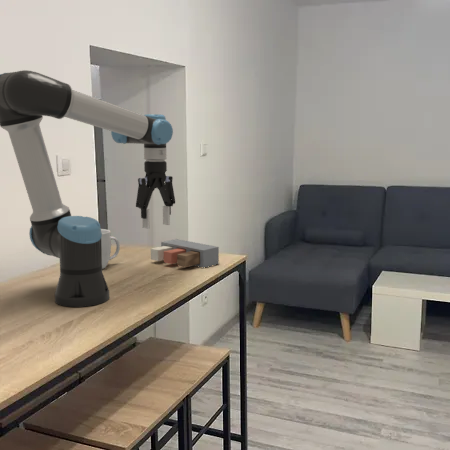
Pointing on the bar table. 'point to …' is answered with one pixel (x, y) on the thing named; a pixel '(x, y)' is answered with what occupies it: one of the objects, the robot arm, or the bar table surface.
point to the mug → (108, 247)
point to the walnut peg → (188, 259)
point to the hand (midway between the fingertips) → (156, 226)
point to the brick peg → (172, 255)
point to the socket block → (207, 252)
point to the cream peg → (159, 252)
